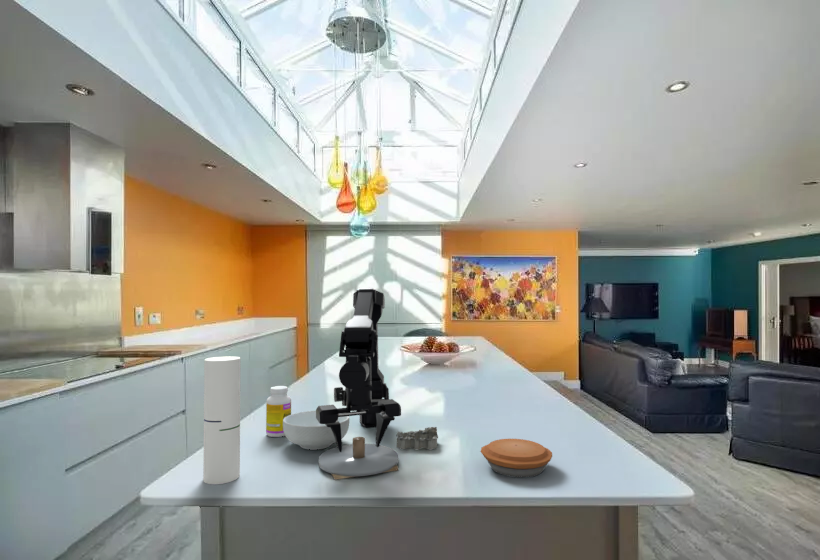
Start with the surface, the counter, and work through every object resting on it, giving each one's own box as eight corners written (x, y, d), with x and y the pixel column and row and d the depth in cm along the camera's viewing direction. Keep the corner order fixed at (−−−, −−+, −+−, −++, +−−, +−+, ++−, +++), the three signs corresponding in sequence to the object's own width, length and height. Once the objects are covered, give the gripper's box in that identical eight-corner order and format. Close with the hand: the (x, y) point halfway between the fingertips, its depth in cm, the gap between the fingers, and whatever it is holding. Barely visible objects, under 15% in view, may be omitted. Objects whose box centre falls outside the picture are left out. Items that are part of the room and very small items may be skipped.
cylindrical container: (210, 471, 101) (211, 356, 102) (243, 470, 102) (244, 356, 102) (198, 485, 94) (199, 361, 95) (234, 483, 94) (235, 360, 95)
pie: (566, 467, 103) (565, 445, 103) (528, 488, 92) (527, 463, 92) (507, 451, 114) (506, 430, 114) (467, 468, 103) (466, 445, 103)
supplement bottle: (284, 438, 124) (284, 390, 124) (261, 437, 125) (261, 389, 126) (295, 431, 131) (295, 385, 131) (273, 430, 132) (273, 384, 132)
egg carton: (438, 442, 121) (438, 426, 121) (437, 452, 114) (437, 435, 114) (398, 440, 122) (398, 425, 123) (394, 450, 115) (394, 433, 115)
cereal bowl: (362, 444, 119) (362, 416, 119) (308, 461, 107) (308, 430, 107) (323, 431, 131) (323, 405, 131) (270, 445, 119) (270, 417, 119)
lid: (384, 444, 117) (384, 424, 117) (409, 469, 100) (409, 446, 100) (312, 453, 111) (312, 432, 111) (326, 481, 94) (326, 456, 94)
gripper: (386, 371, 117) (387, 434, 116) (312, 377, 110) (312, 443, 110) (401, 379, 106) (402, 448, 106) (320, 385, 100) (320, 459, 99)
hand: (359, 449), depth 105 cm, fingers open, 8 cm apart
